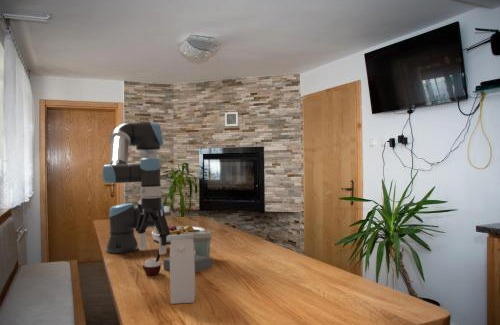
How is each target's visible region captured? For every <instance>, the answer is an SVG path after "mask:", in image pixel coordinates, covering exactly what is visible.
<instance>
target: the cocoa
mask: <svg viewBox="0 0 500 325" xmlns="http://www.w3.org/2000/svg"><path fill="white" fill-rule="evenodd" d="M156 255H157V256H156V258H153V257H150V258H148V259H146V260H145V262H144V264H143V265H142V269H143V270H144V272H145V275H147V276H151V277H152V276H157V275H158V274H159V273H160V271H161V268H162V266H161V265H162V262H161V260H160V257H161V255H159V251H158V252H157V254H156Z"/></svg>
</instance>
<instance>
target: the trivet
mask: <svg viewBox="0 0 500 325" xmlns="http://www.w3.org/2000/svg"><path fill="white" fill-rule="evenodd" d="M194 258H195V273H197V272H201V271H204V270H208V269H211V268H213V260H212V259H213V257H210V256H209V257H206V256H202V255H197V254H195V253H194ZM162 260H163V262H162V263H163V270H166V271H169V272H170V257H168V258H164V259H162Z"/></svg>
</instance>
